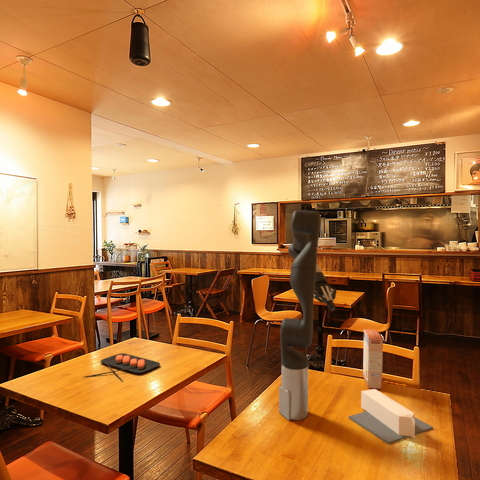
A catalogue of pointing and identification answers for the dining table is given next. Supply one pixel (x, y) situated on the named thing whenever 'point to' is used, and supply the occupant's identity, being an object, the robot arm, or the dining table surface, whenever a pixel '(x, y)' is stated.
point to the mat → (385, 427)
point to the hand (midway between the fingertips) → (333, 309)
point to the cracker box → (372, 359)
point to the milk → (388, 412)
